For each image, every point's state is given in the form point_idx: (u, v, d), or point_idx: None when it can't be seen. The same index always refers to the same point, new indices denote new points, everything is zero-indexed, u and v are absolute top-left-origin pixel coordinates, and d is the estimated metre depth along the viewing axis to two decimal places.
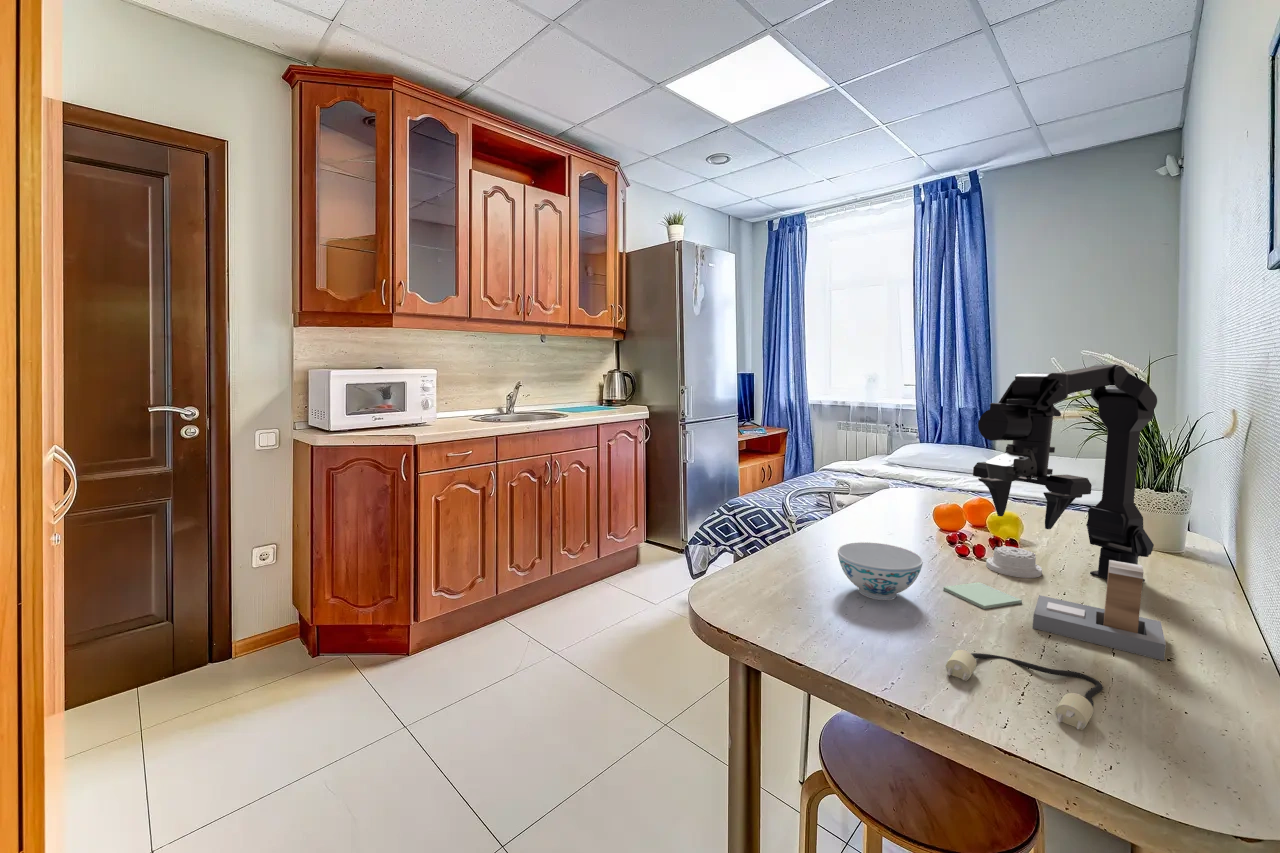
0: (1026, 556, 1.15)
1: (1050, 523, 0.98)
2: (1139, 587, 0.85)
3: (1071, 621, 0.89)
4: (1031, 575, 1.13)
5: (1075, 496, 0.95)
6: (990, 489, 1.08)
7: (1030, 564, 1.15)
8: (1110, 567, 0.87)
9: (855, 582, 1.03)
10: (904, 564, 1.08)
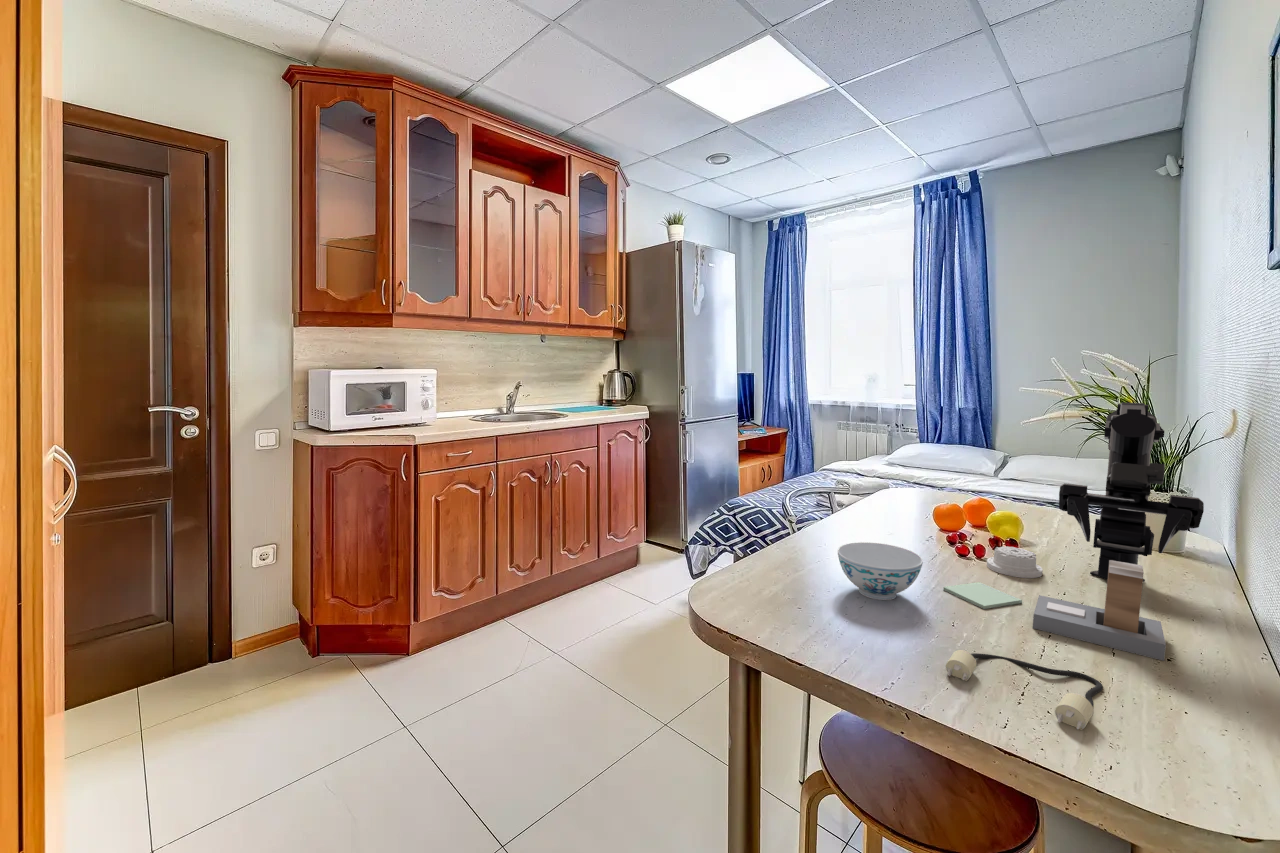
0: (1027, 556, 1.15)
1: (1165, 545, 0.90)
2: (1139, 587, 0.85)
3: (1071, 621, 0.89)
4: (1032, 575, 1.13)
5: (1189, 523, 0.91)
6: (1080, 510, 0.98)
7: (1030, 564, 1.15)
8: (1110, 567, 0.87)
9: (855, 582, 1.03)
10: (904, 564, 1.08)
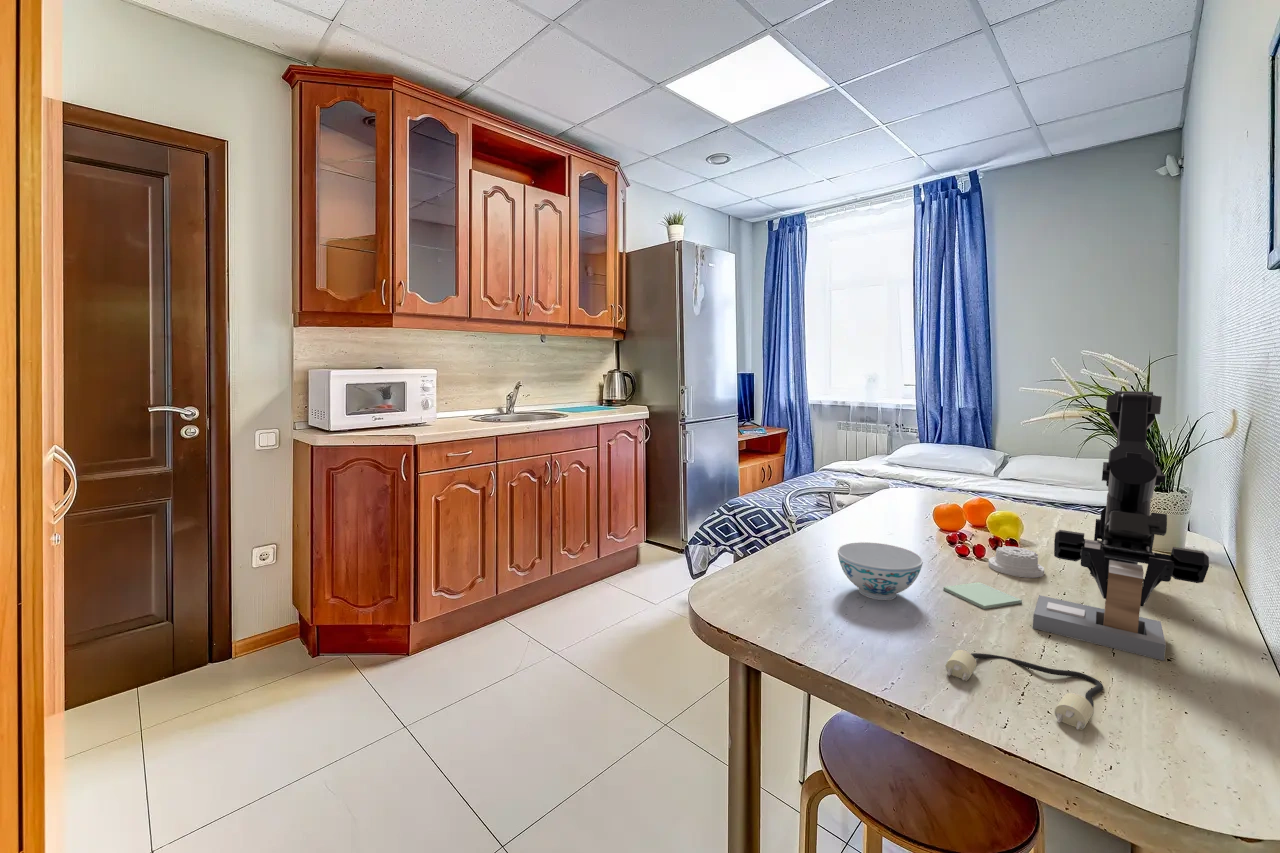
0: (1028, 556, 1.15)
1: (1146, 598, 0.85)
2: (1139, 587, 0.85)
3: (1071, 621, 0.89)
4: (1034, 574, 1.14)
5: (1171, 574, 0.87)
6: (1096, 563, 0.90)
7: (1032, 564, 1.15)
8: (1110, 567, 0.87)
9: (855, 582, 1.03)
10: (904, 564, 1.08)
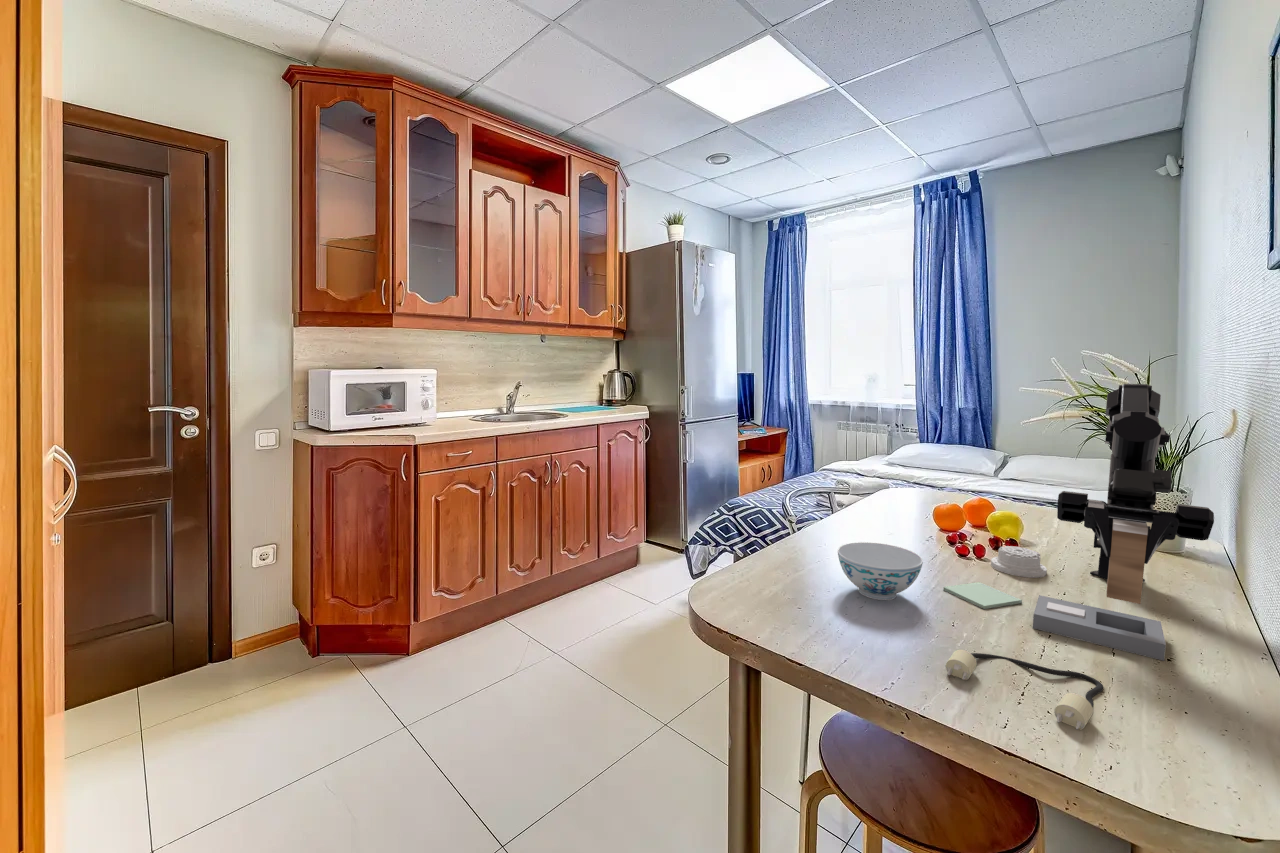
0: (1031, 556, 1.15)
1: (1150, 555, 0.85)
2: (1143, 543, 0.84)
3: (1071, 621, 0.89)
4: (1036, 574, 1.14)
5: (1176, 532, 0.86)
6: (1099, 522, 0.90)
7: (1035, 563, 1.15)
8: (1114, 524, 0.86)
9: (855, 582, 1.03)
10: (904, 564, 1.08)
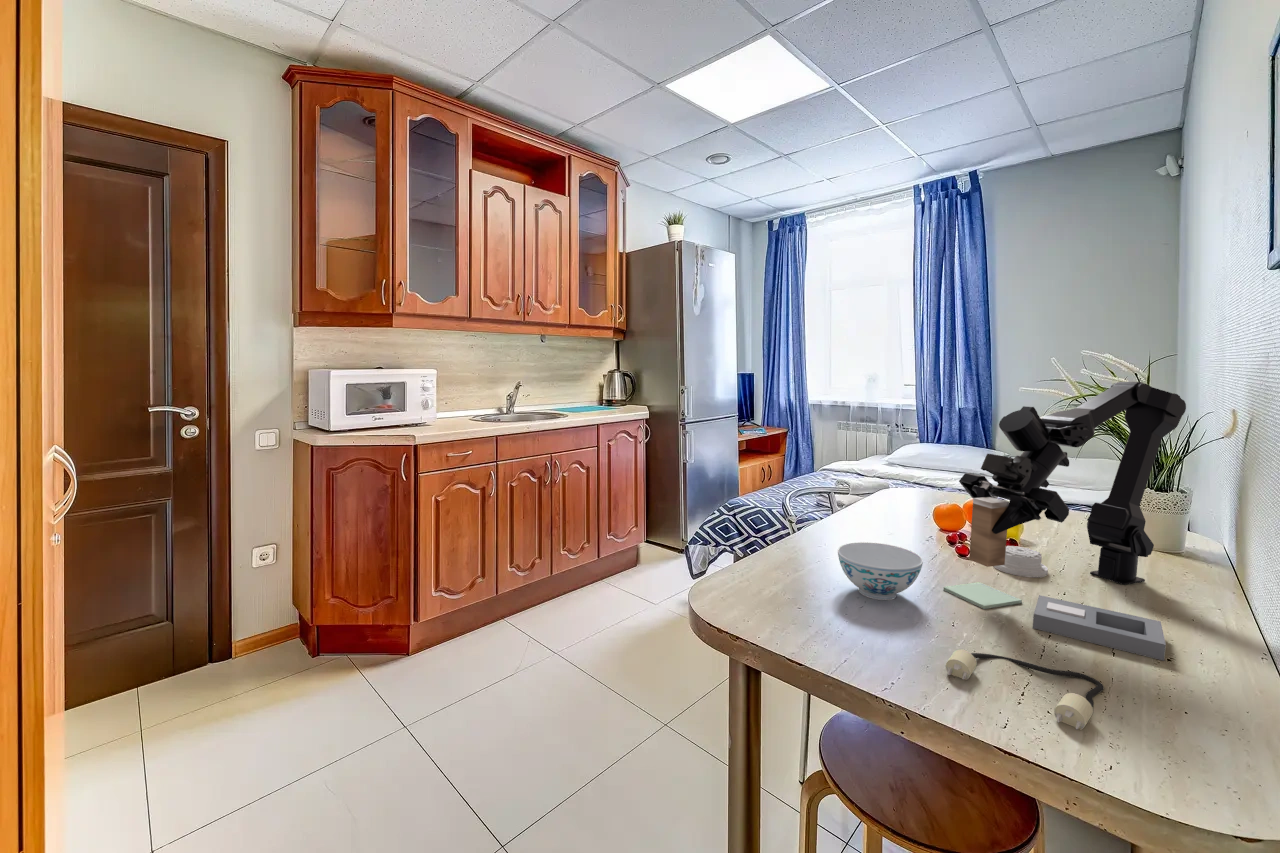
0: (1032, 556, 1.15)
1: (999, 527, 1.00)
2: (989, 515, 1.00)
3: (1071, 621, 0.89)
4: (1037, 574, 1.14)
5: (1035, 512, 0.98)
6: None
7: (1036, 563, 1.15)
8: (974, 499, 1.03)
9: (855, 582, 1.03)
10: (904, 564, 1.08)
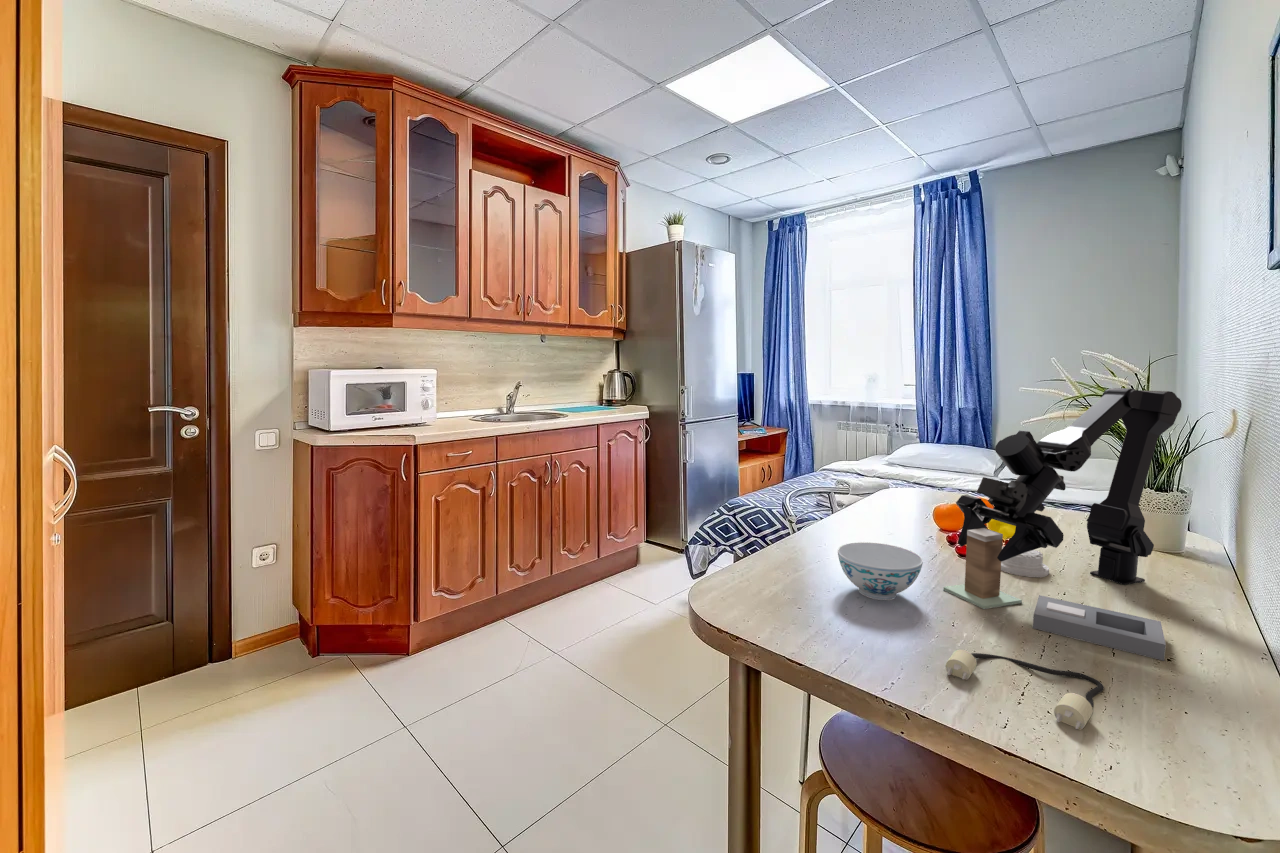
0: (1033, 555, 1.15)
1: (1004, 554, 0.98)
2: (983, 548, 1.01)
3: (1071, 621, 0.89)
4: (1039, 574, 1.14)
5: (1042, 540, 0.97)
6: (965, 518, 1.09)
7: (1037, 563, 1.15)
8: (968, 531, 1.04)
9: (855, 582, 1.03)
10: (904, 564, 1.08)
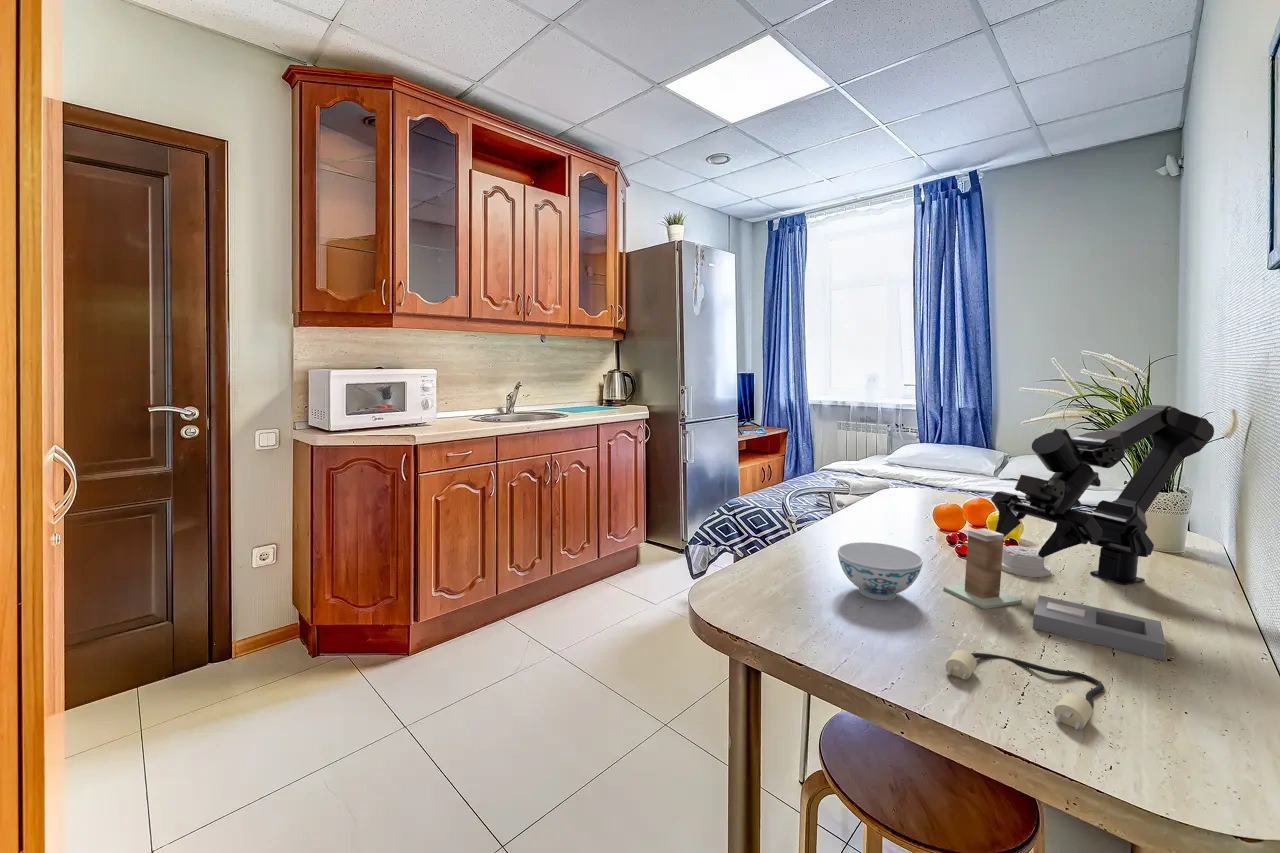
0: (1035, 555, 1.15)
1: (1045, 551, 1.01)
2: (984, 548, 1.01)
3: (1071, 621, 0.89)
4: (1040, 574, 1.14)
5: (1083, 537, 0.99)
6: (1000, 514, 1.11)
7: (1039, 563, 1.15)
8: (969, 530, 1.04)
9: (855, 582, 1.03)
10: (904, 564, 1.08)
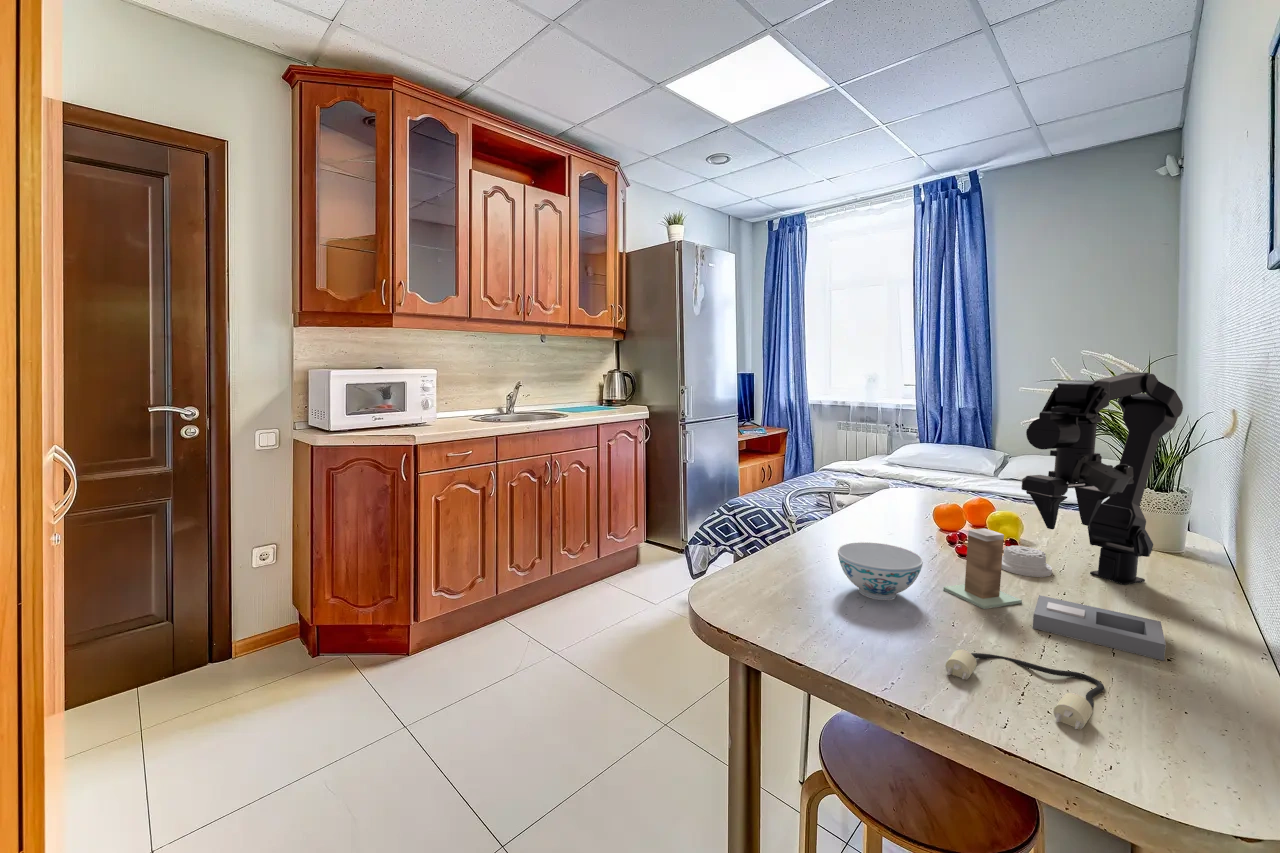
0: (1036, 555, 1.16)
1: None
2: (984, 548, 1.01)
3: (1071, 621, 0.89)
4: (1042, 573, 1.14)
5: None
6: (1055, 505, 1.01)
7: (1040, 563, 1.15)
8: (969, 530, 1.04)
9: (855, 582, 1.03)
10: (904, 564, 1.08)
